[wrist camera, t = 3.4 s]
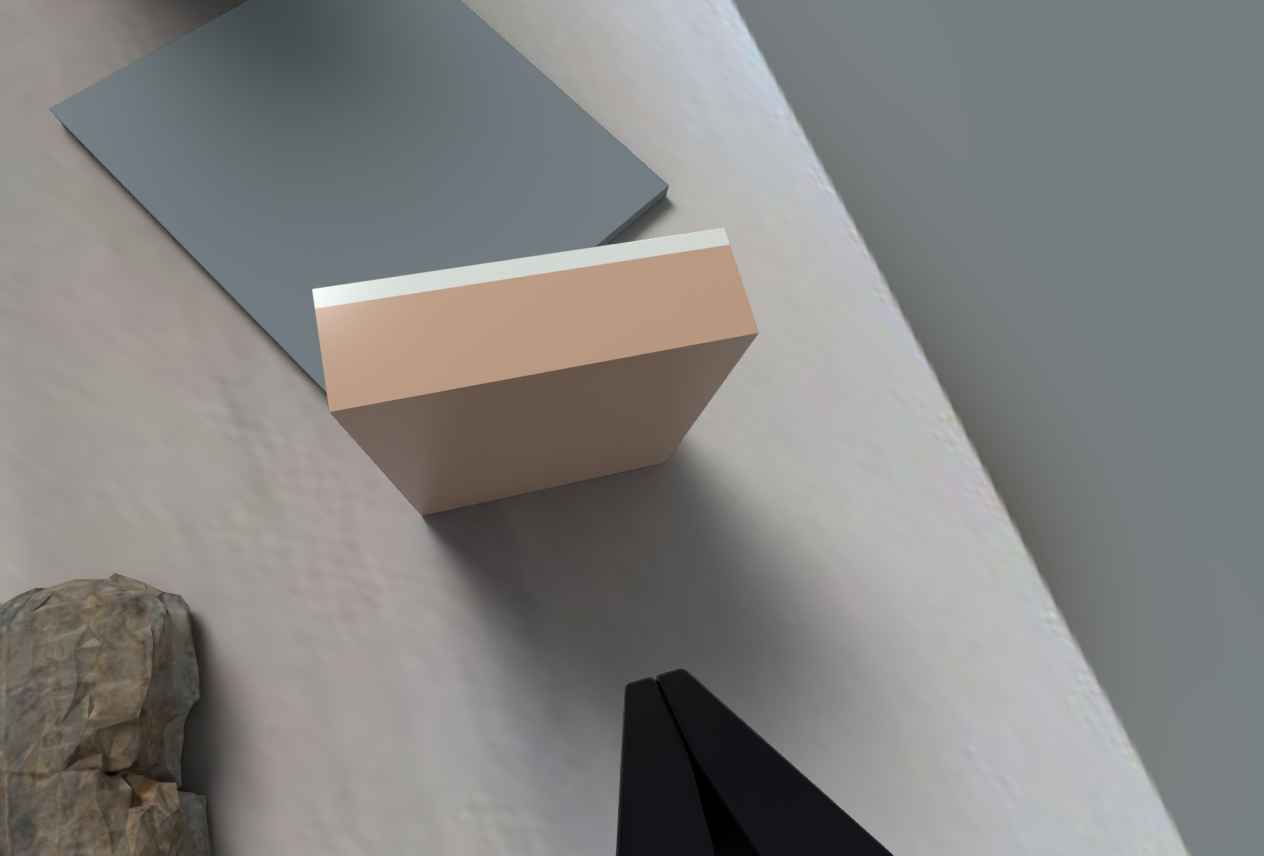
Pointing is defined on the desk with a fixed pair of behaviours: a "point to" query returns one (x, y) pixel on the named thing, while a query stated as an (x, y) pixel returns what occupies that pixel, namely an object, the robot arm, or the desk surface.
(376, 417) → the terracotta tile
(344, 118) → the grey rubber mat
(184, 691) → the flat rock
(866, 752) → the desk surface
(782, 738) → the desk surface
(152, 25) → the desk surface
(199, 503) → the desk surface
